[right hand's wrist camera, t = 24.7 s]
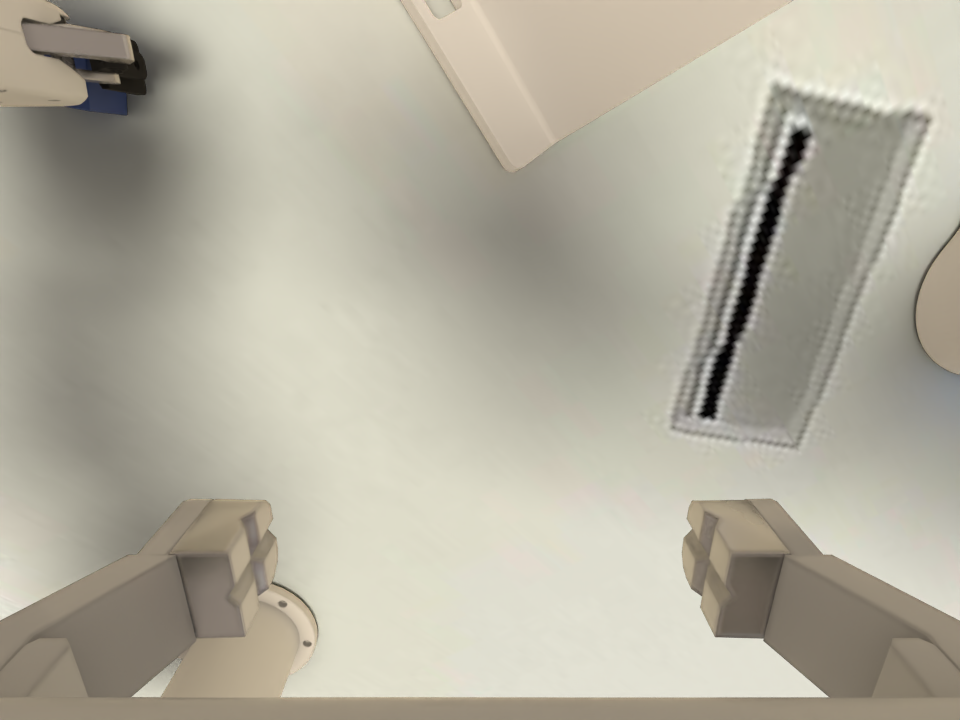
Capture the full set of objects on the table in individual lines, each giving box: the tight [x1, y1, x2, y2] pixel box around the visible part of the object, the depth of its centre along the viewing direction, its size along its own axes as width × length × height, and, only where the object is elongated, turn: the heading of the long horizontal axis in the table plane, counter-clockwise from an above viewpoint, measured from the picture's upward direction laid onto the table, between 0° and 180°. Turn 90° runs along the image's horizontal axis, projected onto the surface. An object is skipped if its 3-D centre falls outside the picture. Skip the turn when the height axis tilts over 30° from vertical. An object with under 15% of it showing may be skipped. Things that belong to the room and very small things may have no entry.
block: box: [44, 55, 127, 115], centre depth 36 cm, size 4×5×4 cm
